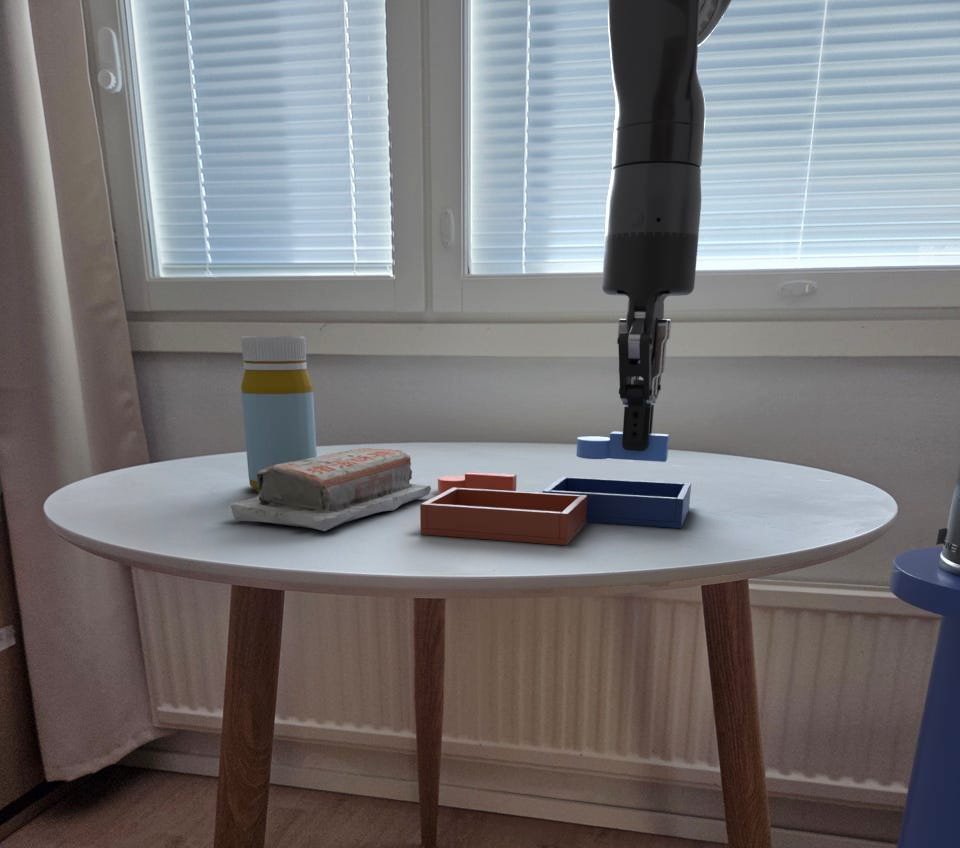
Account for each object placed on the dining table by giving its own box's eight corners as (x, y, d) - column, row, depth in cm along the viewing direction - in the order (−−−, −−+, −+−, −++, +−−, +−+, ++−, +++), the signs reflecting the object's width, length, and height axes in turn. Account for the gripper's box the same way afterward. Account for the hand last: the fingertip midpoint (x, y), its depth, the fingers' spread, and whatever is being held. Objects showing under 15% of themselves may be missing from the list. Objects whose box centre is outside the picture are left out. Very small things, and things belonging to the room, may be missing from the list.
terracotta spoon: (518, 494, 88) (519, 473, 87) (510, 500, 85) (510, 477, 85) (444, 490, 90) (443, 469, 90) (433, 495, 88) (433, 473, 87)
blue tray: (688, 510, 81) (691, 483, 80) (681, 528, 74) (683, 499, 73) (560, 502, 85) (561, 476, 84) (541, 518, 77) (541, 490, 76)
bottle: (323, 483, 94) (315, 336, 89) (312, 495, 87) (302, 337, 82) (259, 483, 94) (246, 336, 89) (242, 494, 87) (228, 336, 82)
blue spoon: (668, 458, 78) (670, 433, 77) (664, 463, 75) (666, 437, 74) (580, 453, 80) (581, 428, 79) (573, 458, 77) (574, 432, 76)
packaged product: (345, 442, 89) (431, 448, 85) (347, 489, 90) (431, 498, 86) (224, 466, 74) (322, 474, 69) (229, 522, 75) (325, 534, 71)
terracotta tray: (586, 524, 75) (587, 495, 74) (566, 545, 68) (567, 513, 67) (452, 514, 79) (452, 487, 78) (420, 534, 71) (419, 504, 71)
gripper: (692, 222, 64) (672, 461, 70) (704, 239, 76) (686, 441, 82) (590, 224, 66) (579, 456, 72) (618, 240, 78) (606, 437, 84)
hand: (636, 447), depth 77 cm, fingers closed on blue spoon, 1 cm apart
